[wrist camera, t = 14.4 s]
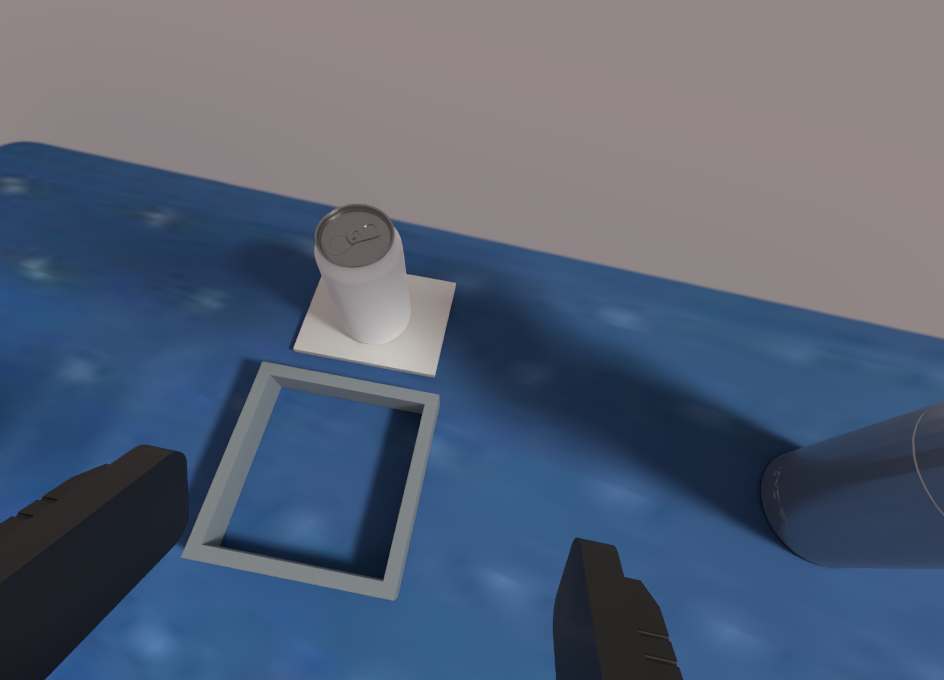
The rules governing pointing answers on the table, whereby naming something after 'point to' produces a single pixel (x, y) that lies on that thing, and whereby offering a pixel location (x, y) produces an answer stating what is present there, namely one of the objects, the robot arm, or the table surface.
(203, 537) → the grey square frame
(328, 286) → the can
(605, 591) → the robot arm
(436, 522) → the table surface
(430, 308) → the mat
